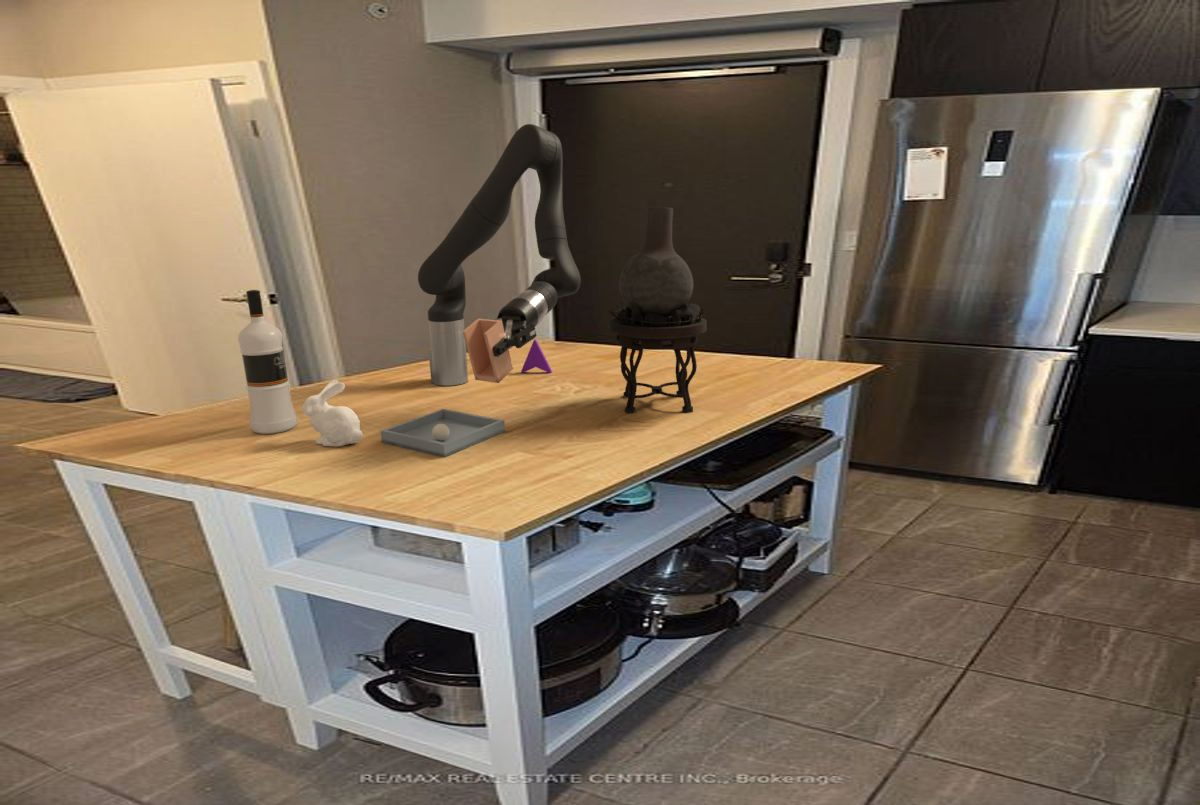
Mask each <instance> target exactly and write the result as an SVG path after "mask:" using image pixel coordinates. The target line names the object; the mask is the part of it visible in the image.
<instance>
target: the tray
mask: <svg viewBox="0 0 1200 805" xmlns="http://www.w3.org/2000/svg"><path fill="white" fill-rule="evenodd" d="M505 423H506V422H505V419H500V418H494V417H490V416H485V415H478V414H473V413H468V412H462V411H457V410H451V409H447V408H441V409H438V410H435V411H433V412H430V413H428V414H425V415H421V416H418V417H416V418H413V419H410V420H406V421H404V422H401V423H398V424H396V425H394V426H393V425H392V426H390V427H388V428H384V429H382V430H380V435H381V436H380V437H381V443H384V444H389V445H392V446H397V447H401V448H405V449H409V450H414V451H417V452H421V453H426V454H430V455H435V456H439V457H444V458H447V457H449V456H451V455H454V454H456V453H458V452H460V451H463V450H465V449H467V448H470V447H472V446H474V445H477V444H479V443H481V442H484V441H486V440H489V439H491V438H493V437H495V436H497V435H500V434H502V433H505V432H506V426H505V425H506V424H505ZM437 424H445V425H446V426H447V427H448V428H449V431H450V433H449V436H448V438H447V439H445V440H442V441H439V440H436V439H435V438H434V437H433V435H432V430H433V428H434V426H436V425H437Z"/></svg>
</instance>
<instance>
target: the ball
mask: <svg viewBox="0 0 1200 805" xmlns="http://www.w3.org/2000/svg"><path fill="white" fill-rule="evenodd" d="M449 433H450V431H449V428H448V427H447V426H446V425H445V424H437V425H436V426H434V428H433V430H432V435H433V437H434V438H435V439H436V440H439V441H442V440H445V439H447V438H448V436H449Z"/></svg>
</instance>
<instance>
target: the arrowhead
mask: <svg viewBox="0 0 1200 805" xmlns="http://www.w3.org/2000/svg"><path fill="white" fill-rule="evenodd" d="M535 368H537V369H539V370H541V371H544V372H546V373H548V374H552V373H553V370H552V368H551V366H550V364H549V362H548V361H547V358H546V356H545V354H544V352H543V349H542V348H541V346H540V344H539V343H538V341H537V339H535V338H534V340H533V341H532V343H531V346H530V348H529V351H528V354H527V356H526V358H525V361H524V363H523V366H522V369H521V371H520V374H523V373H526V372H528V371H530V370H532V369H535Z"/></svg>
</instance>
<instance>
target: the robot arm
mask: <svg viewBox="0 0 1200 805" xmlns="http://www.w3.org/2000/svg"><path fill="white" fill-rule="evenodd" d="M563 163H564V162H563V147H562V142H561V140H560V138H559V136H557V135H556V134H555V133H554V132H551V131H549V130H547V129H545V128H542V127H541V126H538V125H536V124H533V123H531V124H530V123H526V124H524V125H522V126H521V127H519V128H518V129H517V130H516V131H515V132H514V134H513V136H512V137H511V138H510V140H509V142H508V143H507V145H506V147H505V149H504V151H503V153H502V154H501V156H500V157H499V159H498V161H497V163H496V165H494V168H493V170H492V171H491V172H490V174H489V175H488V177H487V178H486V179H485V181H484V182H483V184H482V185H481V187H480V189H479V190H478V191H477V193H476V194H475V196H473V197H472V199H471V201H470V202H469V203H468V204H467V206H466V208H464V210H463V212H462V214H461V215H460V217H459V218H458V219H457V220H456V222H455V223H454V224H453V226H452V228H451V229H450V230H449V232H448V233H447V235H446V236H445V238H444V239H443V240H442V242H441V243H439V245H438V246H437V248H435V250H434V251H433V252H432V253H430V255H429V256H428V257H427V258H426V259H425V260H424V262H422V264H421V266H420V267H419V270H418V274H417V281H418V282H417V283H418V284H419V287H420V289H421V290H422V291H423V292H424V293H425V294H427V295H433V296H435V301H434V302H433V304H432V305H431V306H430V307H429V309H428V310H427V320H428V321H427V322H428V330H429V340H430V347H428V359H429V370H430V371H429V372H430V381H431V383H433V384H434V385H438V386H444V387H446V386H458V385H462V384H466V383H467V382H469V375H468V374H469V372H468V358H467V355H468V354H467V353H468V350H467V346H466V343H465V339H464V335H463V332H462V331H464V330H465V319H464V318H465V317H464V312H465V309H466V306H467V305H466V304H467V303H466V301H467V300H466V297H467V296H466V278H465V277H466V276H465V272H464V268H463V266H462V263H463V262H464V261H465V260H466V259H468V258H469V256H471V255H473V253H475V252H476V251H478V250H479V249H480V248H481V247H483V246H484V245H486V244H487V242H489V241H490V240H491V239H493V237H494V236H495V235H496V233H497V232H498V231H499V230H500V228H501V227H502V226H503V225H504V223H505V222H506V220H507V218H508V216H509V214H510V211H511V205H512V204H511V203H512V196H513V195H512V194H513V191H514V188H515V186H516V184H517V183H518V181H520V180H521V177H522V176H523V175H524V174H525V172H526V171H527V170H528V169H532V170H534V171H536V173H537V178H538V183H539V188H540V190H539V191H540V193H539V199H538V203H537V207H536V211H535V215H534V229H535V237H536V244H537V249H538V250H537V251H538V254H539V256H540V257H541V259H542V258H543V259H546V260H554V261H555V262H556V263H555V264H556V266H554V267H551V268H548V269H545V270H543V271H540V272H539V273H537V274H536V276H535V277H533V280H532V282H531V283H530V286H528V287H527V288H526V289H524V291H521V292H520V293H518V294H517V295H516V296H515V297H513V298H512V299H511V300H510V301H509V302H507V303H506V304H505V305H504V306H503V307H502V308H500V310H499V312H498V314H497V316H496V317H497V318H496V319H494V320H500V321H502V323H503V327H504V332H505V337H504V338H505V339H501V340H500V341H499V342H498V343H497V344H496V345H494V346H493V353H494V356H495V357H499V356H500V355H501V354H503V353H504V352H505V351H506V350H507V349H509V350H511V349H513V347H515V348H516V349H521V348H522V347H523V346H525V345H527V344H528V343H529V342H531V341H532V340H533V339H534V340H535V338H537V336H538V335H537V330H536V327H537V326H538V325H539V324H540V323H541V322H542V320H543V319H544V318H545V316H547V315H548V314H549V313H550V312H551V311H552V310H553V308H554V307H555V306H556V304H557V302H558V299H559V298H564V297H567V296H572V295H574V294H576V293H578V291H579V289H580V286H581V282H582V280H581V274H580V271H579V269H578V267H577V264H576V262H575V260H574V257H573V255H572V252H571V250H570V247H569V244H568V238H567V230H566V223H565V217H564V204H563Z"/></svg>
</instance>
